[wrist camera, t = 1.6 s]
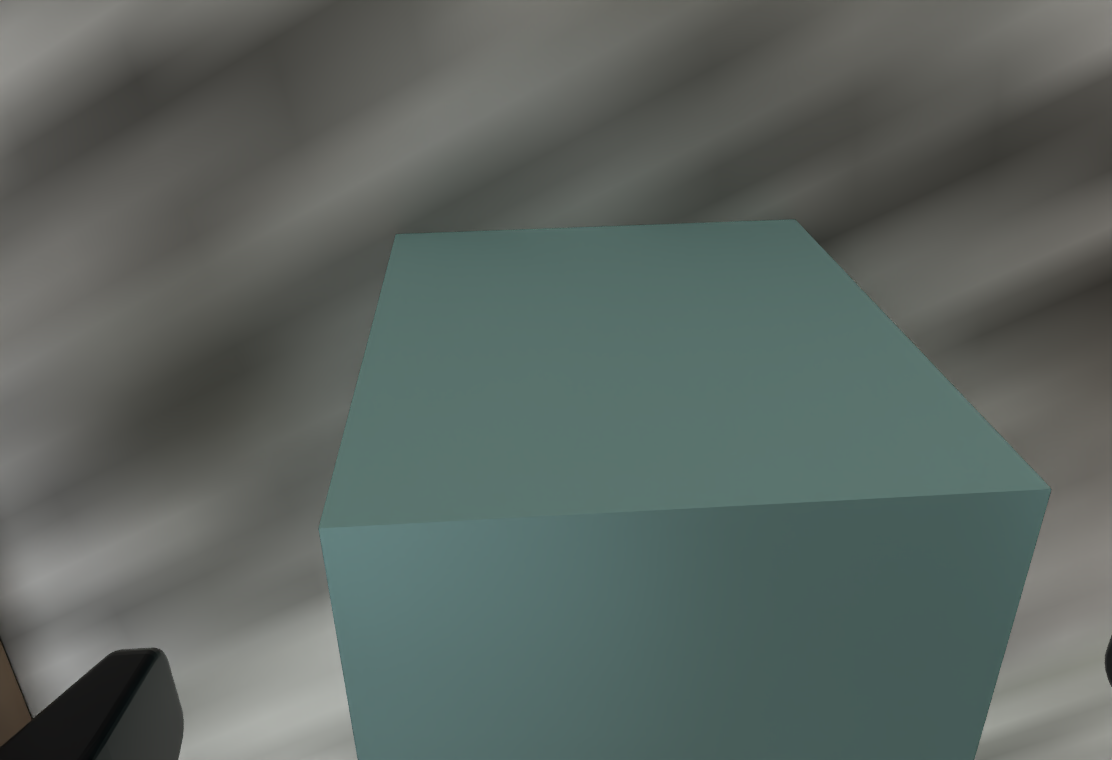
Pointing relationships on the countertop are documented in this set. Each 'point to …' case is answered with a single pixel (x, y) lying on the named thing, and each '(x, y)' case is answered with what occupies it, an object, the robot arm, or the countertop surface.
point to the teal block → (663, 508)
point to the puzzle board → (10, 702)
